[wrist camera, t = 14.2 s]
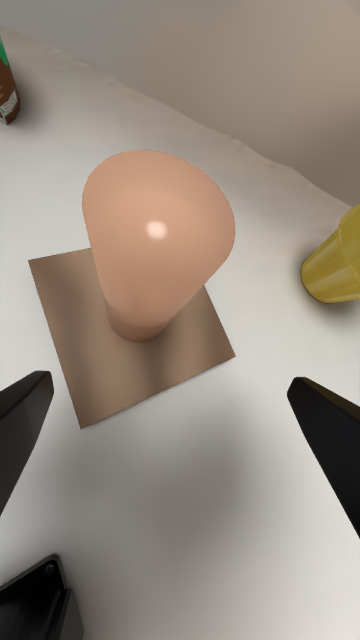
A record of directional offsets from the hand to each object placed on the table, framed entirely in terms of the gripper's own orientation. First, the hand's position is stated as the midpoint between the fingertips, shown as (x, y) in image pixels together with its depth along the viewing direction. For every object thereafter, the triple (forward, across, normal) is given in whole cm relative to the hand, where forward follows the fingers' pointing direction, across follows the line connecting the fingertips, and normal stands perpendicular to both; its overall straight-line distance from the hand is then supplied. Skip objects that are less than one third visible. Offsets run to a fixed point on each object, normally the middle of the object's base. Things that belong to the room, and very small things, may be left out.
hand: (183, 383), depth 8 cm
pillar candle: (+11, +2, +2) cm, 12 cm away
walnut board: (+12, +2, +3) cm, 13 cm away
